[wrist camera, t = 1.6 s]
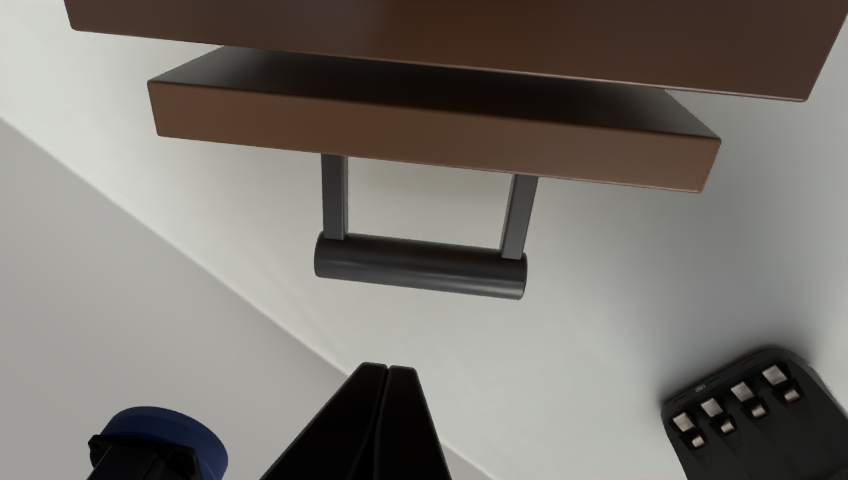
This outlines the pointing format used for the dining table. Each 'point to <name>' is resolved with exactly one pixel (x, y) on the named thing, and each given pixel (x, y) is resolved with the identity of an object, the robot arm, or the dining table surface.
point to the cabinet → (519, 36)
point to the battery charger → (760, 423)
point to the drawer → (433, 144)
